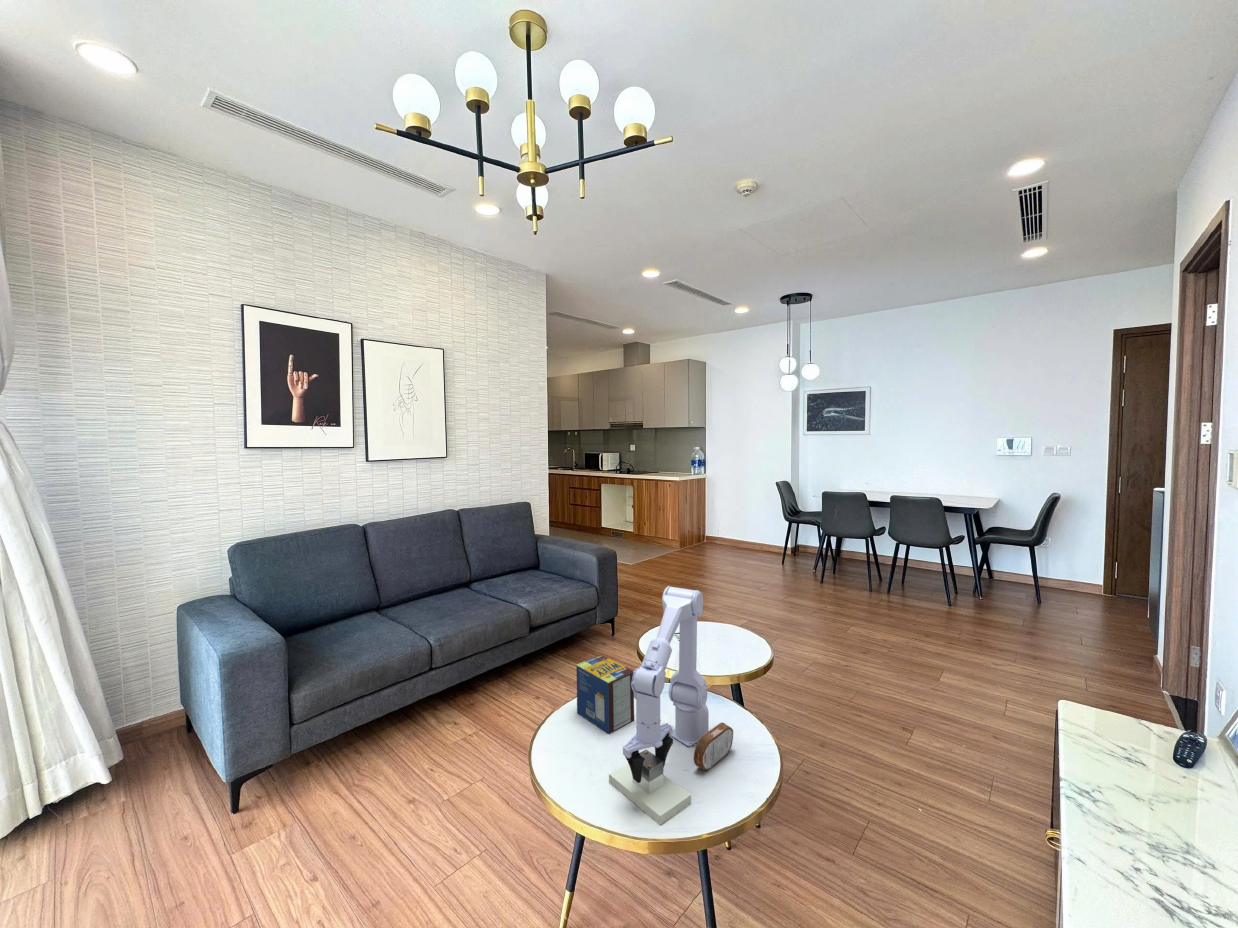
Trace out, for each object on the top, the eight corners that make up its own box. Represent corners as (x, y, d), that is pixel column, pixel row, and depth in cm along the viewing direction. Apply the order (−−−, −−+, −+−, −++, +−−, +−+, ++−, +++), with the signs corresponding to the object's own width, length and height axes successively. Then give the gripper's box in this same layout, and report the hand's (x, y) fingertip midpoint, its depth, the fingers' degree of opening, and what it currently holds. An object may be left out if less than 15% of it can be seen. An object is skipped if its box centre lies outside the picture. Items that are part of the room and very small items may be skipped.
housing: (646, 772, 123) (646, 747, 123) (663, 785, 119) (663, 759, 118) (632, 780, 120) (632, 755, 120) (649, 794, 116) (649, 768, 115)
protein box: (601, 700, 161) (601, 653, 160) (634, 720, 149) (634, 670, 148) (576, 713, 154) (575, 664, 153) (608, 734, 142) (608, 682, 141)
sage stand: (638, 764, 129) (638, 756, 129) (690, 802, 116) (690, 794, 116) (609, 781, 123) (608, 773, 123) (660, 824, 109) (660, 816, 109)
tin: (725, 745, 137) (725, 716, 136) (735, 750, 135) (735, 720, 134) (692, 772, 126) (692, 740, 126) (702, 778, 124) (702, 745, 124)
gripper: (637, 737, 111) (637, 796, 111) (681, 714, 120) (681, 768, 121) (616, 724, 116) (617, 779, 117) (660, 702, 125) (661, 753, 126)
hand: (648, 772), depth 119 cm, fingers open, 7 cm apart
